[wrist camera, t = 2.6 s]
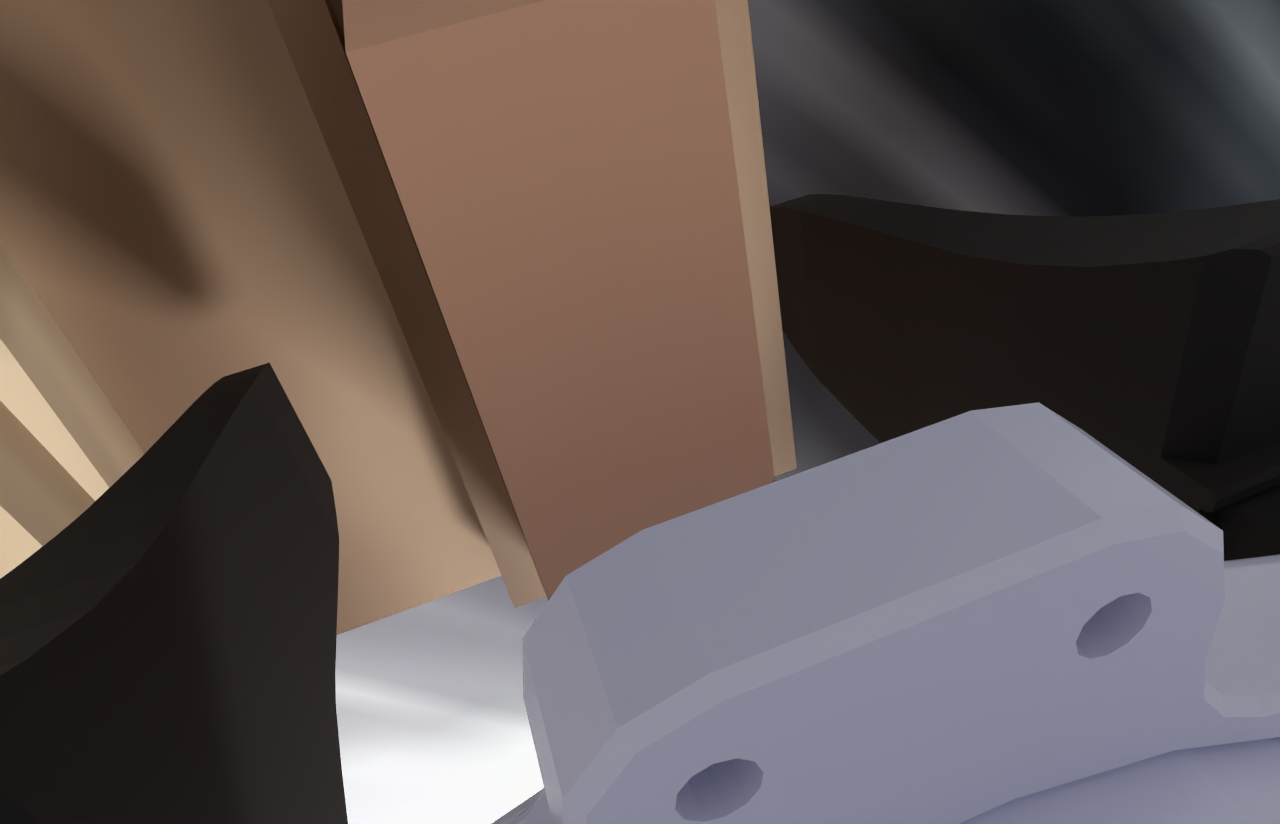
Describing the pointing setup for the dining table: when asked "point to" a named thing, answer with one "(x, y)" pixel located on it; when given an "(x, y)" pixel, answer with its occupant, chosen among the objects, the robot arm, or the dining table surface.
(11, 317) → the plywood offcut stack
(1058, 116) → the dining table surface
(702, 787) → the robot arm
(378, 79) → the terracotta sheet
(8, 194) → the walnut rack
